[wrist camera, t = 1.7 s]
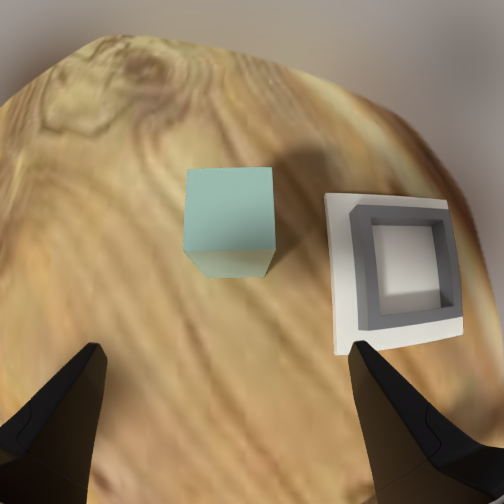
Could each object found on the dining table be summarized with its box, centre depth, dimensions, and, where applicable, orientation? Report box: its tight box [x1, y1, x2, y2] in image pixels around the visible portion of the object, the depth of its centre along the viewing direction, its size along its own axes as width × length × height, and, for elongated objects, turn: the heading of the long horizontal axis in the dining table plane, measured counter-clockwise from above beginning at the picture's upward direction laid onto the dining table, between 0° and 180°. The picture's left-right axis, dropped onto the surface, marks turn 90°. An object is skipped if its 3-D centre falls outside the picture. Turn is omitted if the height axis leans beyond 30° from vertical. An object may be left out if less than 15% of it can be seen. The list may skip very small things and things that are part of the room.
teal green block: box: [183, 167, 276, 278], centre depth 19 cm, size 4×4×9 cm
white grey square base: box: [324, 193, 463, 356], centre depth 22 cm, size 13×13×3 cm
